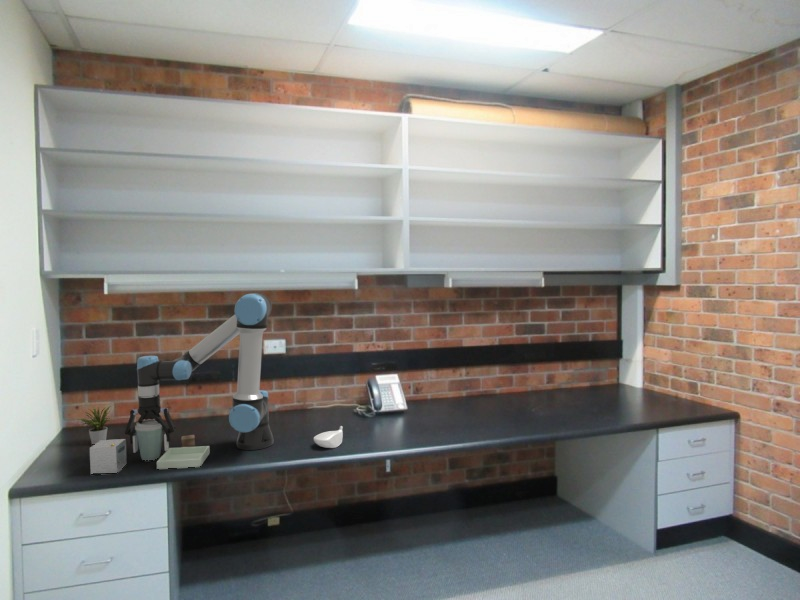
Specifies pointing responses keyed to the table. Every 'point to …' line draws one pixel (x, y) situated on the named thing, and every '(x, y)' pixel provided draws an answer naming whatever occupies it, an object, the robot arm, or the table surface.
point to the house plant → (97, 425)
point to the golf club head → (329, 438)
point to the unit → (108, 456)
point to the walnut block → (188, 441)
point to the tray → (183, 457)
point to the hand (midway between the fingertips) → (151, 450)
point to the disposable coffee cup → (149, 439)
